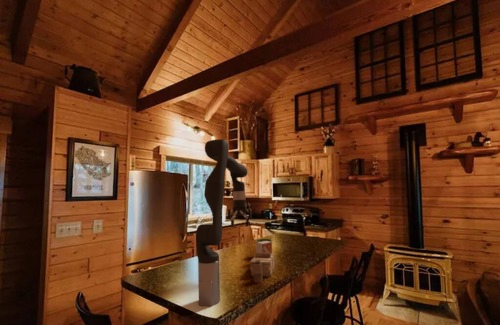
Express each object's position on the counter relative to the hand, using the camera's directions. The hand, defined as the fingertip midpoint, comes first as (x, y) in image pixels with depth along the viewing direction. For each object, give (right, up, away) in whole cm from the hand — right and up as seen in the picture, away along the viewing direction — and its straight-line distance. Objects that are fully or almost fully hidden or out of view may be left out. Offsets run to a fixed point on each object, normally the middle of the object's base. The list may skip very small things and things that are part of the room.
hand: (240, 226), depth 154 cm
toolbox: (+14, -26, -2) cm, 29 cm away
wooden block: (+10, -24, -17) cm, 32 cm away
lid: (+14, -19, -2) cm, 23 cm away
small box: (+16, -28, +17) cm, 36 cm away
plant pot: (+16, -30, +32) cm, 46 cm away
